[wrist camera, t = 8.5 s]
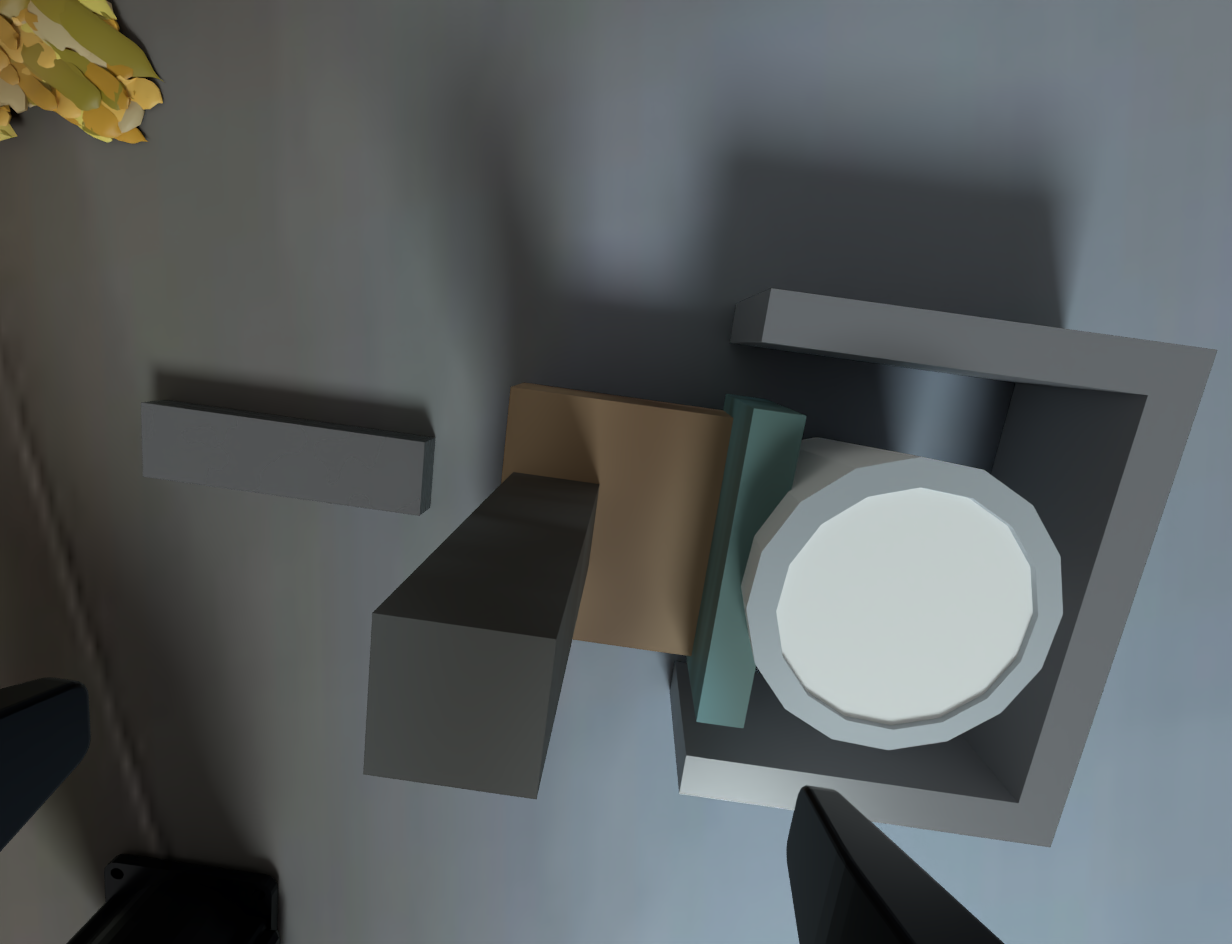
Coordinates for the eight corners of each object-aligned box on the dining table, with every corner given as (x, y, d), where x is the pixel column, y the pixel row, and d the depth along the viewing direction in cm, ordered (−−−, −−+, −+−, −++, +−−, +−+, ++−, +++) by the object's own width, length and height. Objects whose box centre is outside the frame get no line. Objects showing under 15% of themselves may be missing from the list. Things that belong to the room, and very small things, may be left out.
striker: (500, 613, 20) (333, 937, 9) (526, 365, 18) (360, 393, 7) (720, 644, 20) (820, 1007, 9) (766, 399, 18) (957, 477, 7)
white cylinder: (710, 416, 19) (755, 455, 12) (927, 419, 19) (1094, 459, 12) (702, 616, 21) (739, 751, 14) (905, 620, 21) (1043, 756, 14)
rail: (166, 470, 20) (142, 476, 19) (165, 399, 20) (140, 402, 19) (429, 507, 20) (419, 515, 19) (435, 437, 20) (424, 442, 19)
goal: (669, 691, 21) (679, 793, 17) (736, 303, 19) (770, 288, 14) (955, 732, 21) (1050, 847, 16) (1064, 349, 19) (1217, 350, 14)
